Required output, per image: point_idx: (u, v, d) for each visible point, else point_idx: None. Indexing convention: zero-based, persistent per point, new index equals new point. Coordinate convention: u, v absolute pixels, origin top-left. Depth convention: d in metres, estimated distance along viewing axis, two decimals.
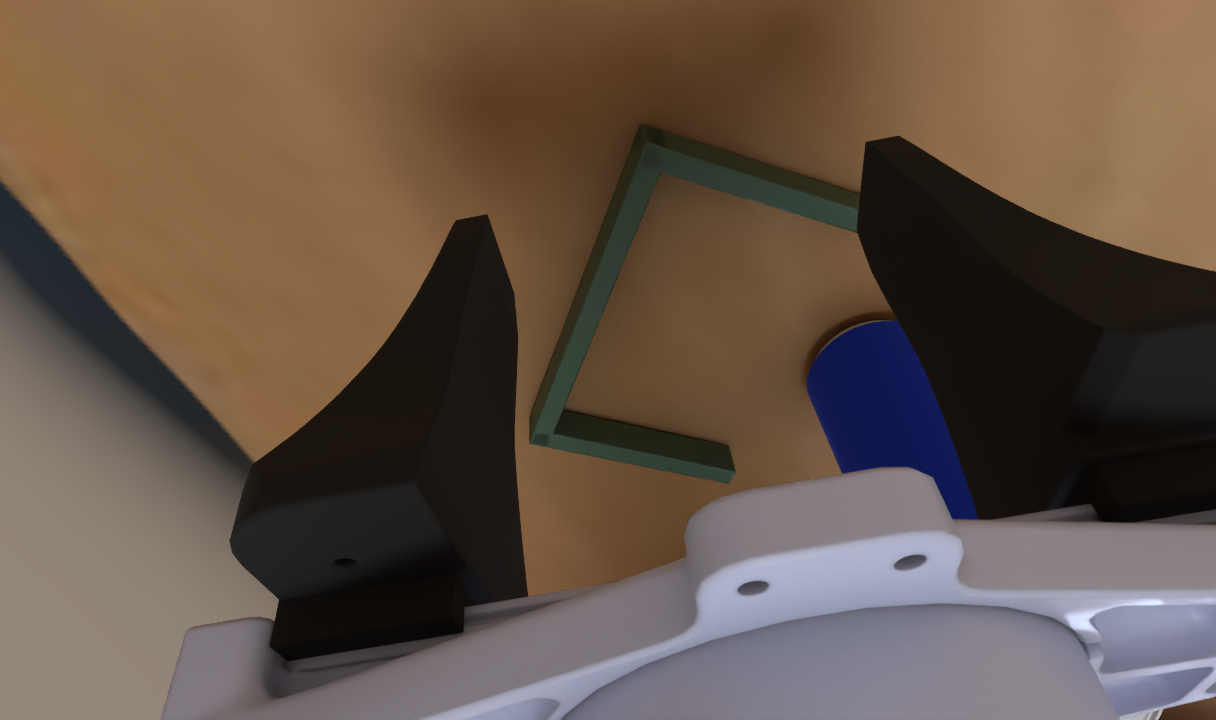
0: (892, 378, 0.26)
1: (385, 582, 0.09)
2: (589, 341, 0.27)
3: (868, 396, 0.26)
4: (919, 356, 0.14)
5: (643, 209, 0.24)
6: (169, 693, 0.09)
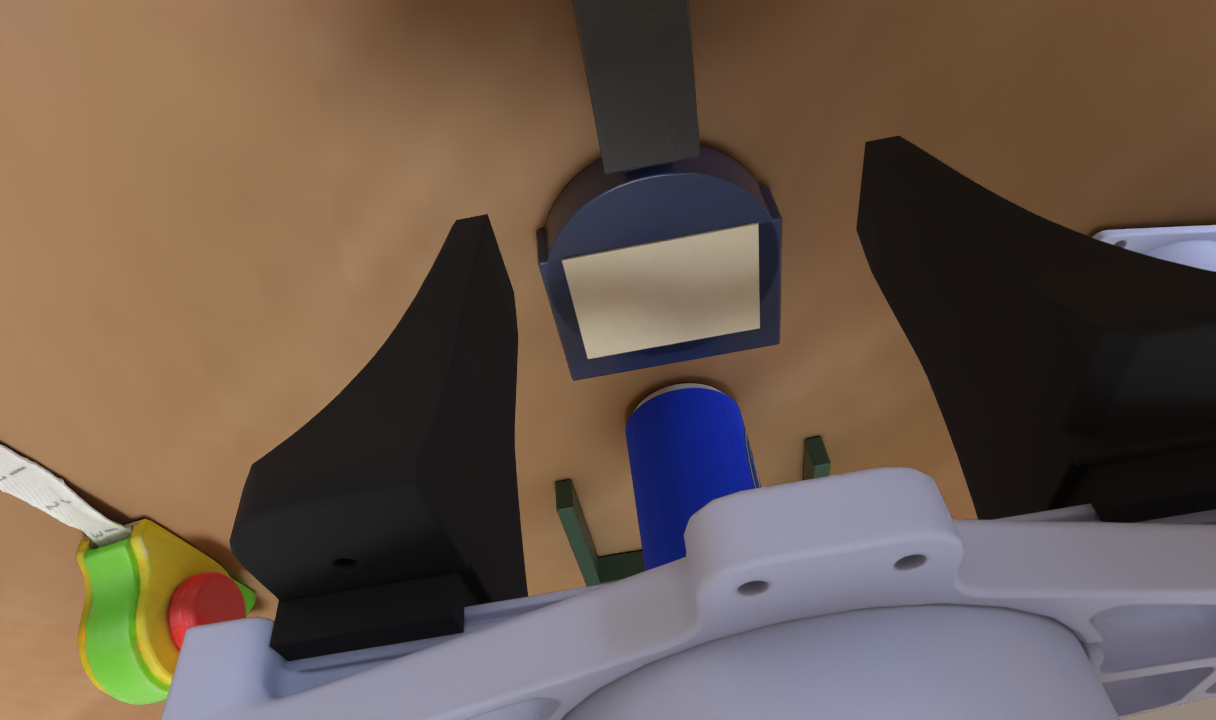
0: None
1: (385, 582, 0.09)
2: None
3: None
4: (919, 355, 0.14)
5: None
6: (169, 694, 0.09)
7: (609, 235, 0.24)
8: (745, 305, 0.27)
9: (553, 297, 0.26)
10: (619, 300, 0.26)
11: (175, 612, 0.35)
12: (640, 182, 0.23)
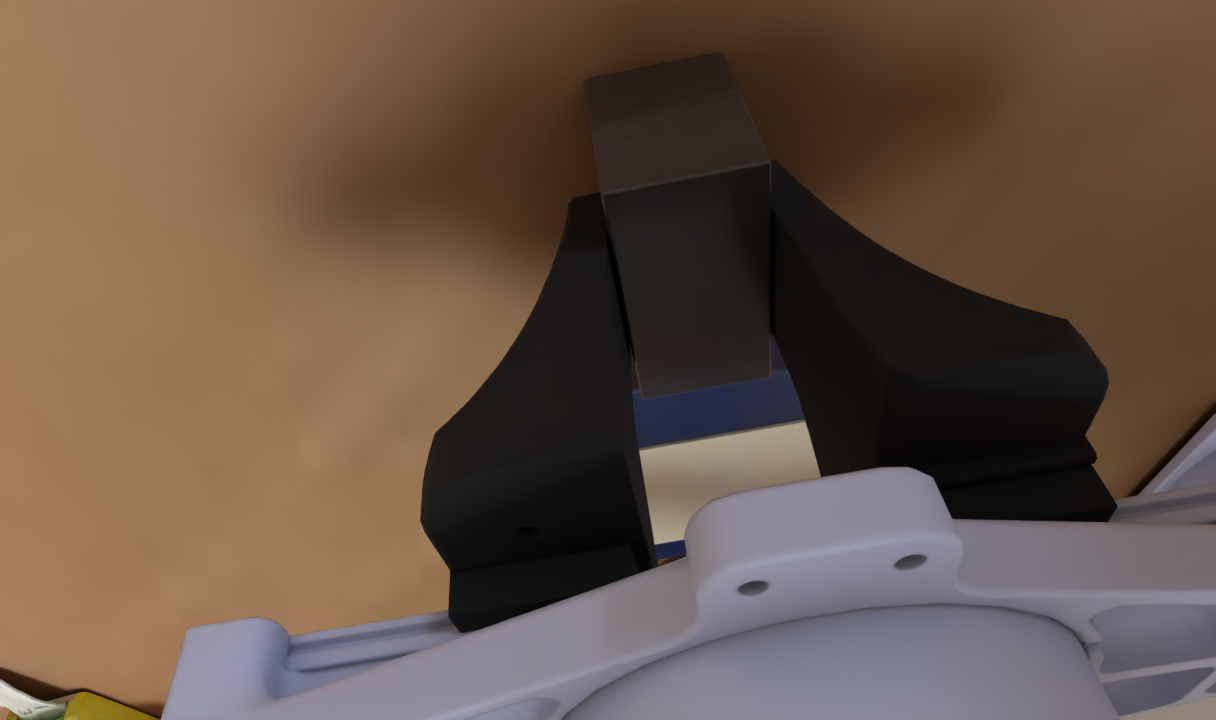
0: None
1: (561, 552, 0.09)
2: None
3: None
4: (792, 378, 0.14)
5: None
6: (169, 693, 0.09)
7: (639, 434, 0.19)
8: None
9: None
10: (649, 495, 0.21)
11: None
12: None
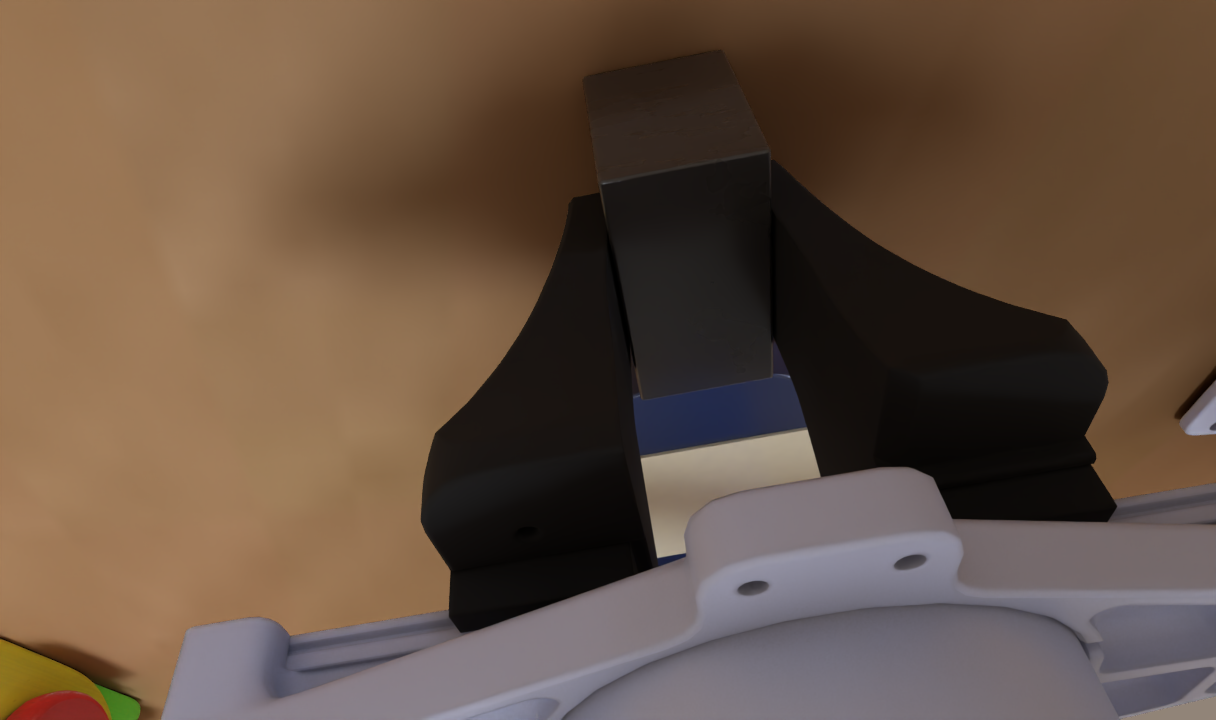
0: None
1: (562, 552, 0.09)
2: None
3: None
4: (792, 378, 0.14)
5: None
6: (169, 693, 0.09)
7: (640, 440, 0.19)
8: None
9: None
10: (651, 506, 0.21)
11: None
12: None
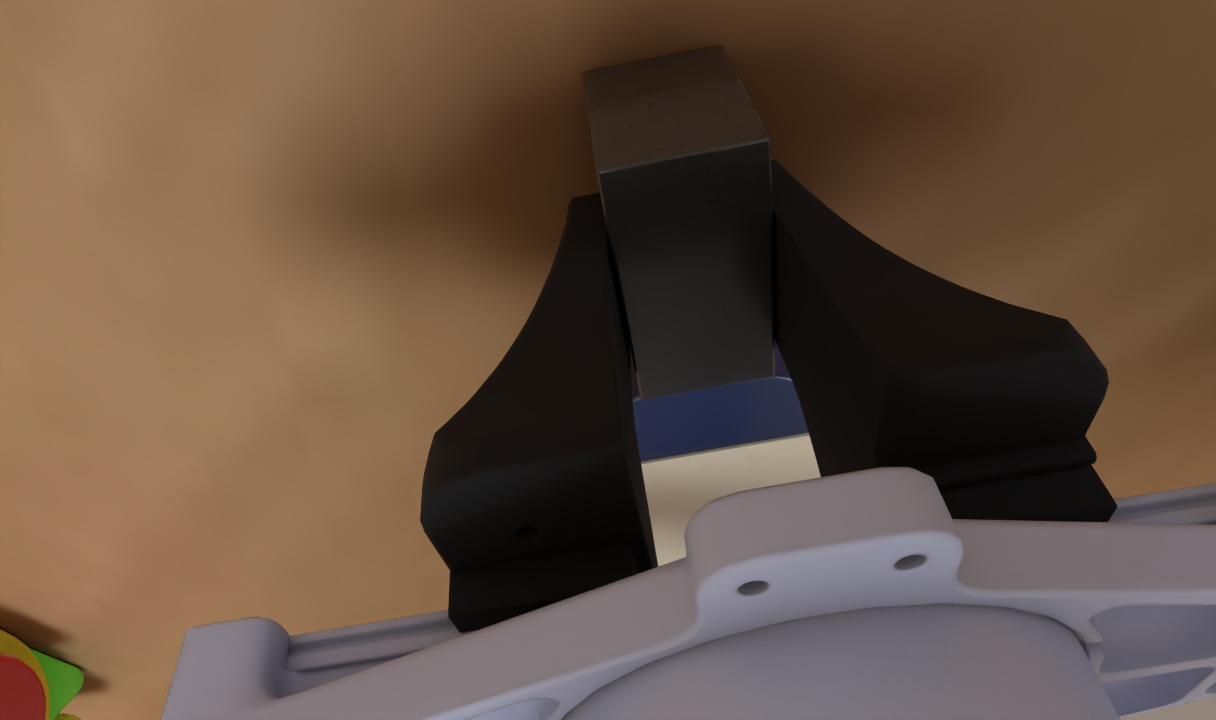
0: None
1: (561, 552, 0.09)
2: None
3: None
4: (792, 377, 0.14)
5: None
6: (169, 693, 0.09)
7: (640, 446, 0.18)
8: None
9: None
10: (651, 514, 0.20)
11: None
12: None
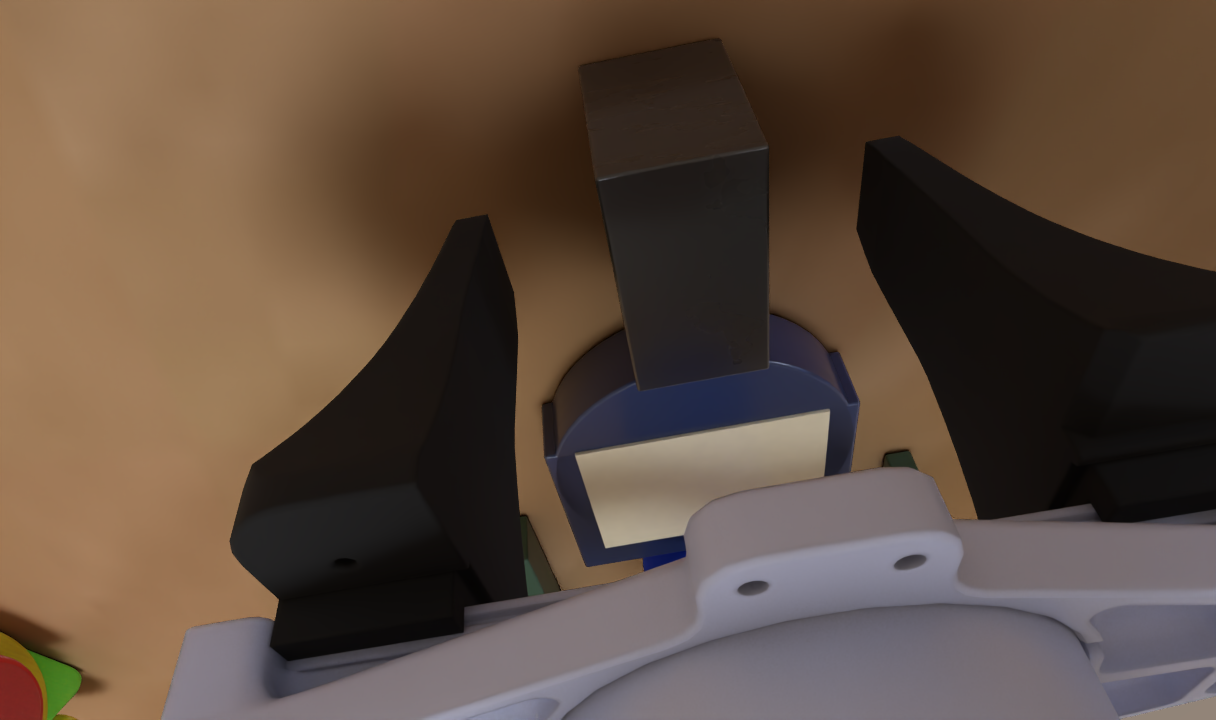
0: None
1: (385, 582, 0.09)
2: None
3: None
4: (919, 355, 0.14)
5: None
6: (169, 693, 0.09)
7: (636, 427, 0.19)
8: None
9: (563, 490, 0.20)
10: (647, 491, 0.21)
11: None
12: None
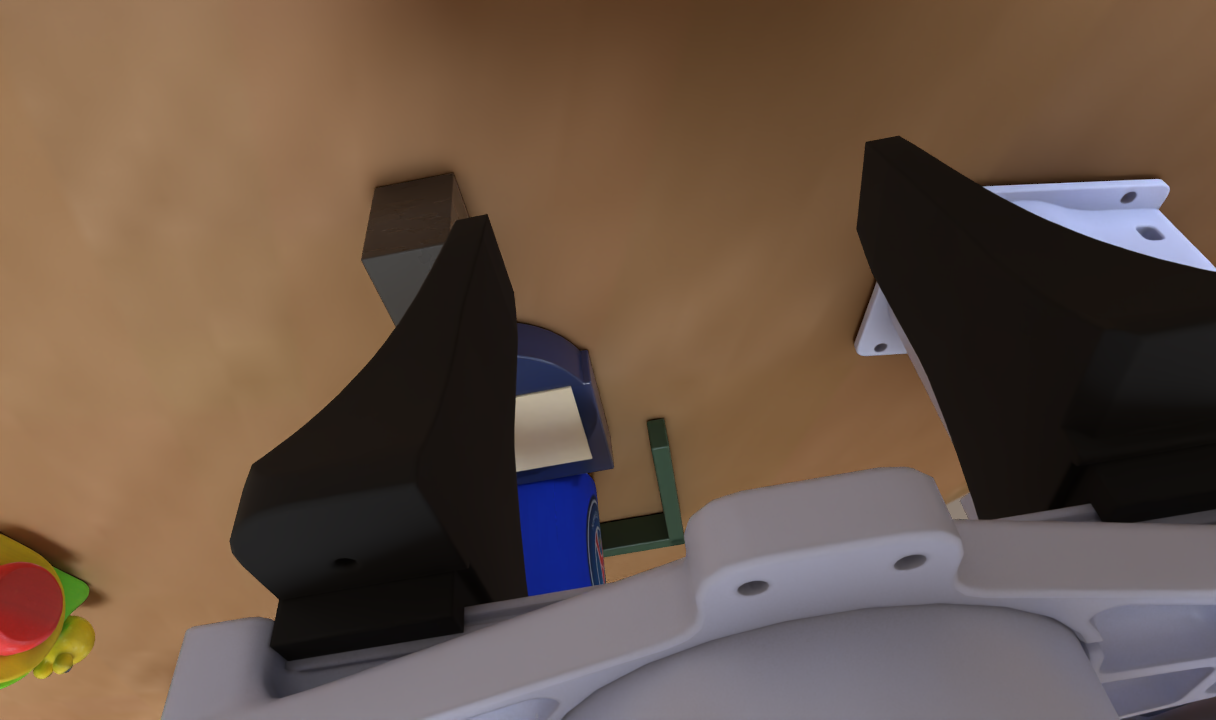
0: None
1: (385, 582, 0.09)
2: None
3: None
4: (919, 356, 0.14)
5: None
6: (169, 693, 0.09)
7: None
8: (576, 442, 0.32)
9: None
10: None
11: None
12: None
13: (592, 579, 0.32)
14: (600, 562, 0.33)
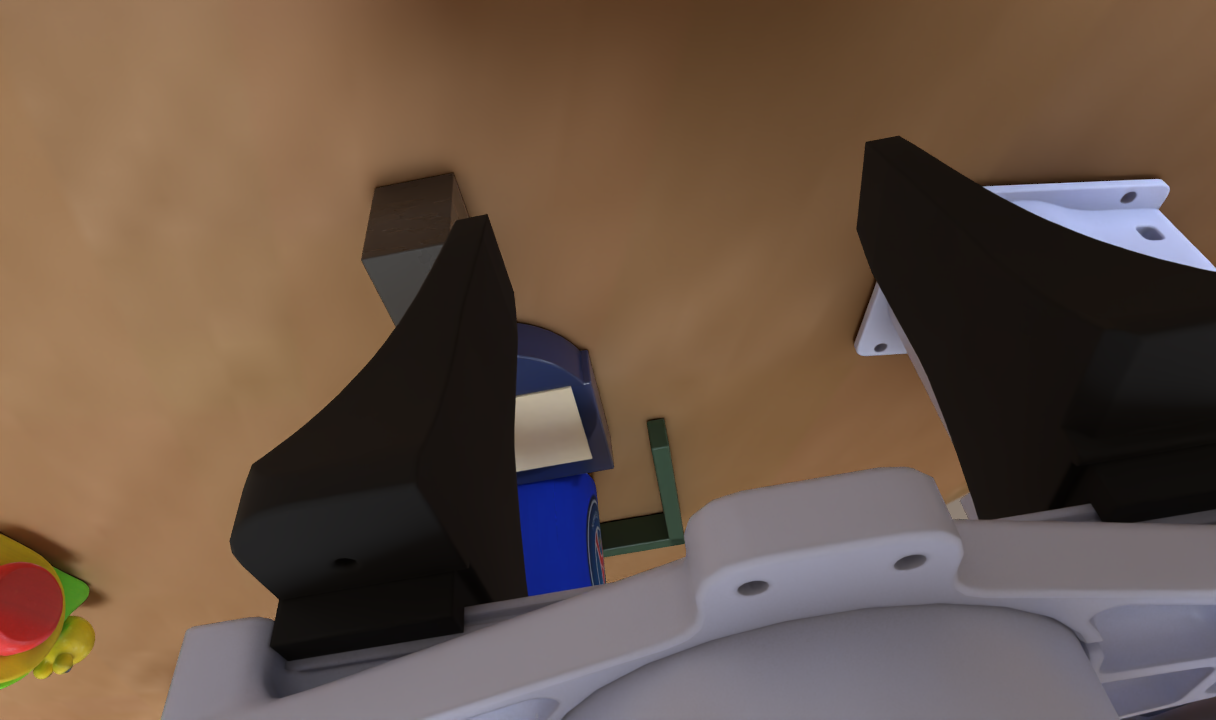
0: None
1: (385, 582, 0.09)
2: None
3: None
4: (919, 356, 0.14)
5: None
6: (169, 693, 0.09)
7: None
8: (576, 442, 0.32)
9: None
10: None
11: None
12: None
13: (592, 579, 0.32)
14: (600, 562, 0.33)
